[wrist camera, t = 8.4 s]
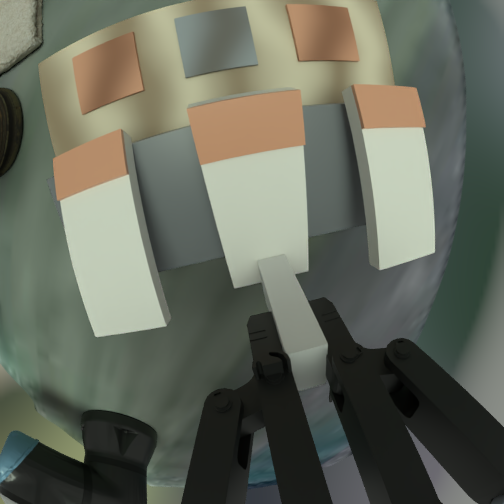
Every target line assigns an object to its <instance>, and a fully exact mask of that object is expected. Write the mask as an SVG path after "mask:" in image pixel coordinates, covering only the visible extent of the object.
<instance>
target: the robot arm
mask: <svg viewBox="0 0 504 504" xmlns="http://www.w3.org/2000/svg"><path fill="white" fill-rule="evenodd" d="M257 261H258V266H259V271H260V276H261V281H262V286H263V291H264V296H265V301H266V304H267V308H268V312H266V313H262V314H257V315H253V316H250V318H249V321H248V323H247V327H248V333H249V338H250V344H251V349H252V355H253V360H254V361H253V364H252V369H253V372H254V376H253V377H252V379H251V380H250V381H249V382H248V383H247V384H245V385H244V386H242V387H240V388H238V389H236V390H234V391H233V390H231V389H226V388H224V389H218V390H216V391H213V392H212V393H211V394H210V395H209V396H207V398H206V400H205V403H204V407H203V411H202V415H201V419H200V424H199V428H198V432H197V436H196V441H195V445H194V449H193V454H192V458H191V462H190V467H189V471H188V475H187V480H186V484H185V489H184V493H183V497H182V502H181V504H245V500H246V492H247V486H248V478H249V470H250V462H251V453H252V445H253V436H254V432H255V431H257V430H259V429H261V428H263V427H266V432H267V437H268V442H269V447H270V451H271V456H272V461H273V466H274V470H275V475H276V479H277V484H278V489H279V493H280V498H281V502H282V504H333V503H332V500H331V497H330V493H329V490H328V487H327V484H326V480H325V477H324V474H323V470H322V467H321V464H320V461H319V457H318V454H317V451H316V448H315V444H314V441H313V438H312V435H311V431H310V428H309V425H308V422H307V418H306V415H305V412H304V409H303V405H302V402H301V399H300V396H299V393H298V391H301V390H305V389H309V388H312V387H316V386H319V385H323V384H326V378H327V380H328V382H329V385H330V393H329V402H332V400H333V402H334V405H335V408H336V410H337V413H338V416H339V418H340V421H341V424H342V426H343V429H344V432H345V434H346V437H347V440H348V442H349V445H350V448H351V451H352V453H353V456H354V459H355V461H356V464H357V467H358V470H359V473H360V475H361V478H362V481H363V484H364V487H365V490H366V492H367V496H368V498H369V501H370V504H443V503H441V502H440V500H439V499H438V497H437V494H436V492H435V489H434V487H433V484H432V482H431V480H430V478H429V475H428V473H427V471H426V469H425V466H424V464H423V462H422V460H421V457H420V455H419V453H418V451H417V449H416V447H415V445H414V442H413V440H412V438H411V436H410V434H409V432H408V430H407V428H406V426H407V427H408V428H409V430H410V431H411V432H412V433H413V434H414V435H415V436H416V437H417V439H418V440H419V441H420V442H421V443H422V444H423V445H424V446H425V448H427V450H428V451H429V452H430V453H431V454H432V455H433V456H434V458H435V459H436V460H437V461H438V462H439V463H440V464H441V466H443V468H444V469H445V470H446V471H447V472H448V473H449V474H450V476H451V477H452V478H453V479H454V480H455V481H456V482H457V483H458V485H459V486H460V487H461V488H462V489H463V490H464V491H465V492H466V493H467V495H468V496H469V497H470V498H472V499H473V500H474V501H475V502H477V503H478V504H504V427H503V426H502V425H501V424H500V423H499V422H498V421H497V420H496V419H495V418H494V417H493V416H492V415H491V414H490V413H489V412H488V411H487V410H486V409H485V408H484V407H483V406H482V405H481V404H480V403H479V402H478V401H477V400H476V399H474V398H473V397H472V396H471V395H470V394H469V393H468V392H467V391H466V390H465V389H464V388H463V387H462V386H460V384H459V383H458V382H456V381H455V380H454V379H453V378H452V377H451V376H450V375H449V374H448V373H447V372H445V371H444V370H443V369H442V368H441V367H440V366H439V365H438V364H437V363H436V362H435V361H434V360H432V359H431V358H430V357H429V356H428V355H427V354H426V353H425V352H423V351H422V350H421V349H420V348H419V347H418V346H417V345H416V344H414V343H413V342H412V341H410V340H408V339H404V338H399V339H395V340H393V341H391V342H390V343H389V344H388V345H387V348H380V349H367V348H363V347H362V346H361V345H359V344H357V343H355V341H354V340H353V338H352V336H351V335H350V333H349V331H348V329H347V328H346V326H345V324H344V322H343V321H342V319H341V318H340V315H339V314H338V312H337V310H336V308H335V307H334V305H333V303H332V302H330V301H329V300H327V299H326V298H325V297H323V298H319V299H316V300H312V301H307V299H306V297H305V294H304V292H303V290H302V288H301V286H300V284H299V282H298V280H297V278H296V276H295V274H294V272H293V270H292V268H291V266H290V264H289V262H288V260H287V258H286V256H285V254H284V255H279V256H275V257H271V258H266V259H262V260H257ZM405 425H406V426H405ZM81 430H82V437H83V443H84V449H85V458H84V463H82V462H80V461H78V460H75V459H73V458H71V457H68V456H66V455H64V454H62V453H60V452H58V451H56V450H54V449H52V448H50V447H48V446H46V445H44V444H42V443H40V442H39V440H37V439H33V438H31V437H29V436H28V435H25V434H24V433H22V432H20V431H12V432H11V433H10V434H9V436H8V438H7V440H6V442H5V445H4V447H3V450H2V452H1V454H0V496H1V498H2V499H3V501H4V502H5V504H147V478H146V477H147V466H148V464H149V462H150V459H151V457H152V455H153V452H154V450H155V448H156V444H157V434H156V432H155V431H154V430H153V429H152V428H151V427H149V426H148V425H146V424H144V423H142V422H140V421H138V420H136V419H133V418H130V417H127V416H124V415H120V414H117V413H112V412H106V411H88V412H85V413H84V414H83V416H82V421H81Z"/></svg>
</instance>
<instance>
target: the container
mask: <svg viewBox="0 0 504 504" xmlns="http://www.w3.org/2000/svg"><path fill="white" fill-rule="evenodd" d="M22 126H23V121H22V111H21V107H20V103H19V100H18V98H17V96H16V95H15V94H14V93H13V92H12V91H11V90H9V89H6V88H0V177H1V176H2V175H3V174H4V173H5V172H6V171H7V170H8V169H9V168H10V166H11V165H12V163H13V161H14V160H15V157H16V155H17V152H18V149H19V146H20V142H21V137H22Z"/></svg>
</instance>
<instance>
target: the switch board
mask: <svg viewBox="0 0 504 504" xmlns="http://www.w3.org/2000/svg"><path fill="white" fill-rule="evenodd" d="M38 66H39V76H40V83H41V90H42V97H43V103H44V108H45V114H46V119H47V123H48V128H49V132H50V136H51V141H52V145H53V148H54V152H55V156H56V157H57V156H59V155H61V154H63V153H65V152H67V151H69V150H71V149H73V148H76V147H78V146H80V145H82V144H84V143H87V142H89V141H91V140H93V139H96V138H98V137H101V136H103V135H106V134H108V133H111V132H113V131H116V130H118V129H122V130H123V131H124V132H126V133H127V134H128V135H129V136H131V141H132V142H135V141H138V140H141V139H144V138H147V137H151V136H154V135H157V134H160V133H164V132H167V131H171V130H174V129H178V128H182V127H185V126H189V125H190V122H189V117H188V113H187V107H188V104H192V103H197V102H201V101H205V100H210V99H214V98H219V97H224V96H229V95H235V94H240V93H246V92H253V91H260V90H267V89H275V88H284V87H291V88H295V89H299V90H301V99H302V106H303V105H314V104H327V103H344V99H343V95H342V91H344V90H345V89H347V88H348V87H350V86H351V85H353V84H370V85H390V86H395V83H394V77H393V70H392V64H391V59H390V54H389V49H388V44H387V39H386V35H385V31H384V26H383V23H382V19H381V15H380V11H379V8H378V5H377V1H374V0H193V1H188V2H184V3H179V4H175V5H171V6H167V7H164V8H160V9H157V10H153V11H150V12H147V13H144V14H141V15H138V16H135V17H132V18H129V19H127V20H124V21H121V22H119V23H116V24H114V25H111V26H109V27H107V28H104V29H102V30H100V31H97V32H95V33H93V34H91V35H89V36H87V37H85V38H83V39H81V40H79V41H77V42H75V43H73V44H71V45H69V46H68V47H66V48H64V49H62V50H60V51H59V52H57V53H55V54H54V55H52V56H50V57H49V58H47V59H45V60H44V61H42V62H41V63H39V64H38Z"/></svg>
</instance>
